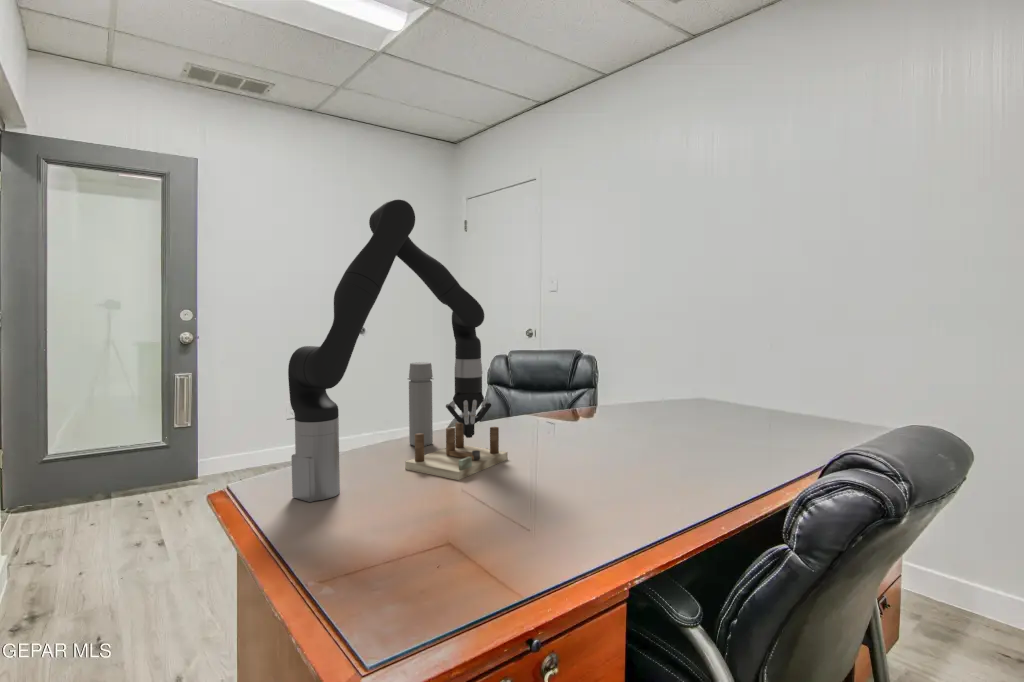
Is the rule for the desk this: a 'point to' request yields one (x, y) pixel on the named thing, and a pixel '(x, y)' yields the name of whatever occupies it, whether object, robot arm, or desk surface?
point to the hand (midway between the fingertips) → (468, 437)
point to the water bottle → (420, 402)
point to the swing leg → (458, 453)
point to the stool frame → (453, 465)
